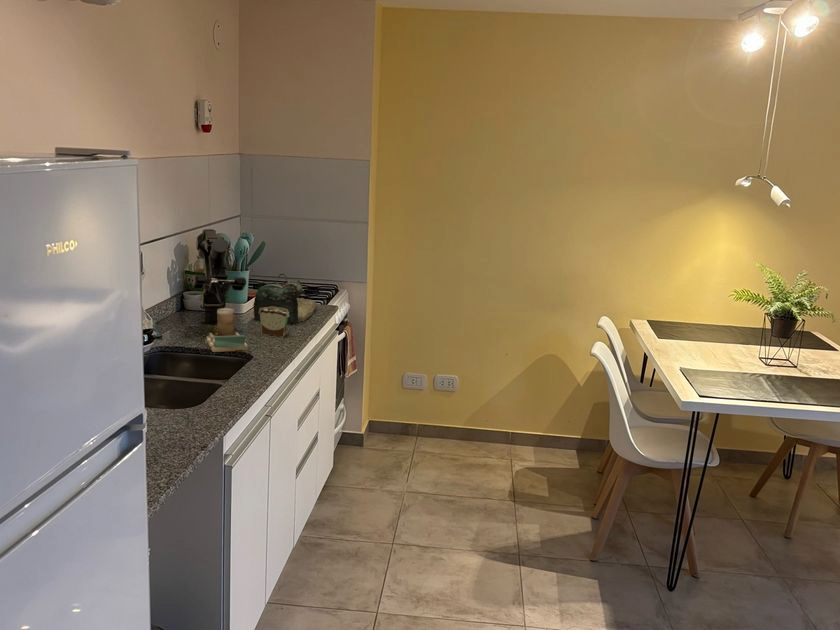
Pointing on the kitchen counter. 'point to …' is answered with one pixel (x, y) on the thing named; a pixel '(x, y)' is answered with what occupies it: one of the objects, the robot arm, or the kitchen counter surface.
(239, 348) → the maple mount
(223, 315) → the brown cup
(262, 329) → the food container
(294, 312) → the ceramic cat
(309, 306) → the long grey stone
